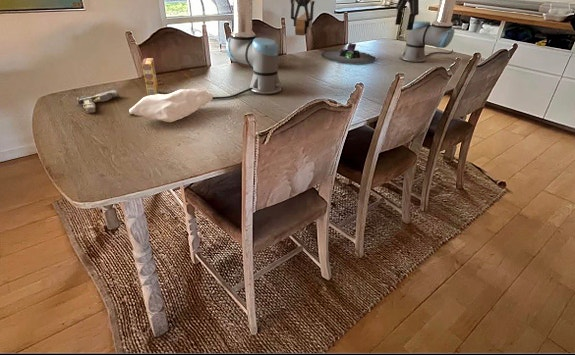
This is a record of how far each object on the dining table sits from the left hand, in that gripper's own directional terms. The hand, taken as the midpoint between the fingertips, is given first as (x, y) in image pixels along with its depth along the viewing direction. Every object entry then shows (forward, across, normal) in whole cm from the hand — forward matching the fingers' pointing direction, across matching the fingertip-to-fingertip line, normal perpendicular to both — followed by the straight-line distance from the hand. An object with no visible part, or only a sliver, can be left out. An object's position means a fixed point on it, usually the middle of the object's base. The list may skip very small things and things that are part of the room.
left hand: (301, 32), depth 209 cm
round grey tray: (+18, -27, -27) cm, 42 cm away
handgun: (+18, +68, +91) cm, 115 cm away
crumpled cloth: (+18, +34, +92) cm, 99 cm away
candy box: (+18, +53, +74) cm, 93 cm away
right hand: (-9, -55, +13) cm, 57 cm away
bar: (+1, 0, -9) cm, 9 cm away
